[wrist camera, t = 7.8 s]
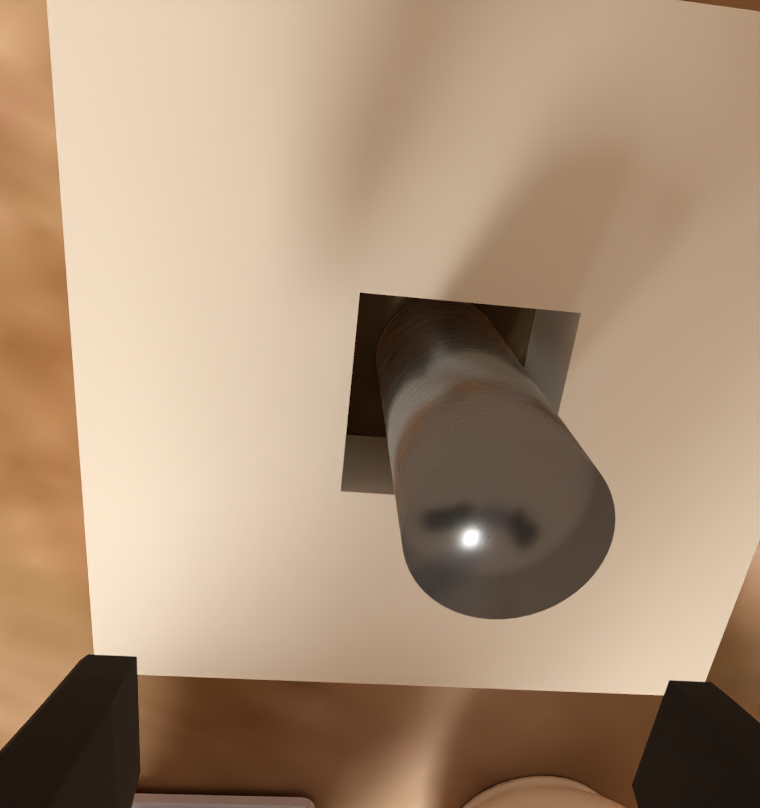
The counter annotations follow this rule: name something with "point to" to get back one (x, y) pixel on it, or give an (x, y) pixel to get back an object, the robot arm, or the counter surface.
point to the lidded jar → (540, 794)
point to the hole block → (409, 277)
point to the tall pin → (484, 469)
